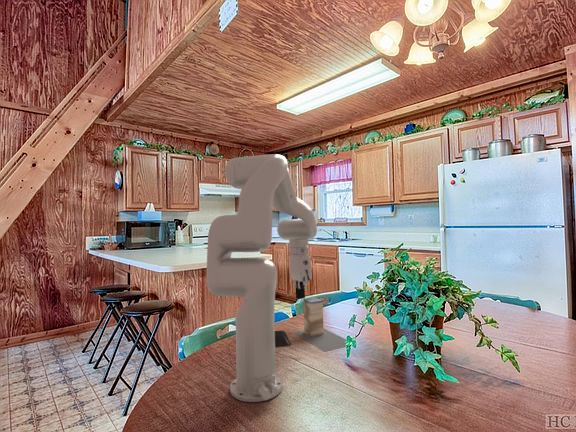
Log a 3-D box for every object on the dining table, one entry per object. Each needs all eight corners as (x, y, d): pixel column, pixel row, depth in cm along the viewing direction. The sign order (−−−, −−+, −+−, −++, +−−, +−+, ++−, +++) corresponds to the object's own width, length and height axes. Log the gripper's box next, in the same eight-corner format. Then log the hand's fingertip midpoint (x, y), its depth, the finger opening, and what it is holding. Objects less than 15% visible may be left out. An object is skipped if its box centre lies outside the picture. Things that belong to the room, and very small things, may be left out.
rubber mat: (355, 346, 102) (355, 344, 102) (324, 353, 96) (324, 351, 96) (321, 328, 120) (321, 327, 120) (293, 334, 114) (293, 332, 114)
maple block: (323, 333, 112) (322, 300, 113) (311, 336, 110) (310, 301, 110) (316, 330, 117) (315, 297, 117) (304, 332, 114) (303, 299, 115)
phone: (283, 330, 117) (291, 345, 102) (283, 333, 117) (291, 348, 102) (262, 332, 115) (267, 347, 101) (262, 335, 115) (267, 351, 101)
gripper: (317, 251, 118) (319, 301, 118) (298, 249, 131) (299, 293, 131) (300, 253, 114) (301, 304, 114) (281, 250, 128) (283, 295, 127)
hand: (300, 298), depth 123 cm, fingers closed
